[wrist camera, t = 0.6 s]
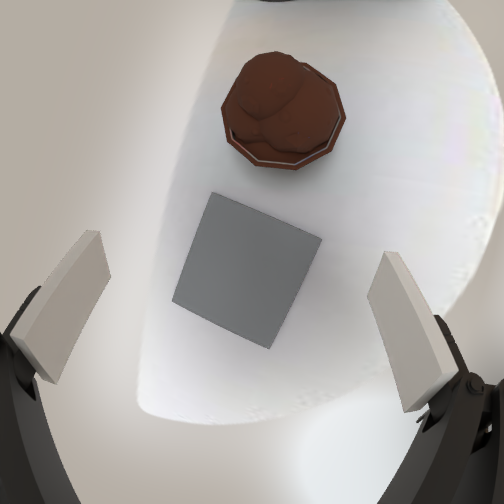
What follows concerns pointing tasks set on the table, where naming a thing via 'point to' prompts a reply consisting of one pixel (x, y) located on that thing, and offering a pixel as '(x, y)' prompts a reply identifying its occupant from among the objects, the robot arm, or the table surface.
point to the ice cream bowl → (282, 112)
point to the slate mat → (244, 269)
